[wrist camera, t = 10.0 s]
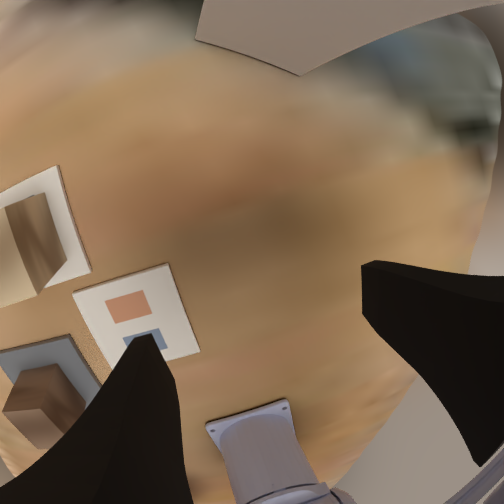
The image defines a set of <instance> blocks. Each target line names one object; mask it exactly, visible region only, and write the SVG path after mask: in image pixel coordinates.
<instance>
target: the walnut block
mask: <svg viewBox="0 0 504 504" xmlns="http://www.w3.org/2000/svg"><path fill="white" fill-rule="evenodd" d="M85 406H86V401H85V400H84V399H83V397H82V396H81V395H80V394H79V392H78V391H77V390H76V388H75V387H74V386H73V384H72V383H71V382H70V380H69V379H68V378H67V376H66V375H65V374H64V372H63V371H62V369H61V368H60V366H59V365H58V363H55V364H51V365H47V366H42V367H38V368H33V369H28V370H24V371H21V372H20V374H19V376H18V378H17V380H16V382H15V384H14V386H13V388H12V390H11V392H10V394H9V397H8V399H7V401H6V403H5V406H4V408H3V410H2V413H3V414H4V415H5V416H6V417H7V418H8V420H9V421H10V422H11V423H12V424H13V425H14V426H15V427H16V428H17V429H18V430H19V431H20V432H21V433H22V434H23V435H24V436H25V437H26V438H27V439H28V440H29V441H30V442H31V443H32V444H33V445H34V446H35V447H36V448H37V449H50V448H51V447H52V446H53V445H54V444H55V443H56V442H57V441H58V440H59V439H60V438H61V437H62V436H63V435H64V434H65V433H66V432H67V431H68V430H69V429H70V428H71V427H72V425H73V424H74V423H75V422H76V421H77V419H78V418H79V417H80V416H81V415H82V413H83V412H84V411H85Z"/></svg>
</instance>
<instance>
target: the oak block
mask: <svg viewBox="0 0 504 504" xmlns="http://www.w3.org/2000/svg"><path fill="white" fill-rule="evenodd" d="M66 261H67V258H66V255H65V252H64V250H63V247H62V244H61V242H60V239H59V236H58V233H57V230H56V227H55V224H54V221H53V218H52V215H51V212H50V208H49V205H48V202H47V198H46V195H45V192H44V193H41V194H38V195H35V196H32V197H29V198H26V199H24V200H21V201H18V202H16V203H13V204H10V205H8V206H5V207H3V208H1V209H0V308H2V307H5V306H8V305H11V304H14V303H16V302H19V301H22V300H25V299H28V298H31V297H34V296H37V295H38V294H39V293H40V292H41V290H42V289H43V288H44V287H45V286H46V284H47V283H48V282H49V281H50V280H51V278H52V277H53V276H54V275H55V274H56V273H57V271H58V270H59V269H60V268H61V267H62V266H63V265H64V263H65V262H66Z"/></svg>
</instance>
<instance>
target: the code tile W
mask: <svg viewBox="0 0 504 504" xmlns="http://www.w3.org/2000/svg"><path fill="white" fill-rule="evenodd" d="M72 296H73V298H74V300H75V302H76V304H77V306H78V308H79V310H80V312H81V314H82V316H83V318H84V320H85V322H86V324H87V326H88V328H89V330H90V332H91V334H92V335H93V337H94V339H95V341H96V343H97V344H98V346H99V348H100V350H101V351H102V353H103V355H104V357H105V358H106V360H107V362H108V363H109V365H110V366H111V368H112V370H113V369H114V367H115V366H116V364H117V362H118V361H119V359H120V358H121V356H122V355H123V353H124V351H125V350H126V348H127V347H128V345H129V344H130V342H131V341H132V340H133V338H134V337H138V336H142V335H146V334H149V333H152V335H153V337H154V339H155V341H156V343H157V346H158V348H159V350H160V352H161V354H162V356H163V358H164V360H165V361H169V360H173V359H176V358H180V357H184V356H187V355H191V354H195V353H198V352H201V351H200V347H199V345H198V342H197V340H196V337H195V335H194V332H193V330H192V327H191V325H190V322H189V320H188V317H187V314H186V312H185V309H184V306H183V304H182V301H181V298H180V295H179V293H178V290H177V287H176V284H175V281H174V278H173V275H172V273H171V270H170V267H169V264H168V263H166V264H163V265H159V266H156V267H153V268H149V269H146V270H143V271H139V272H136V273H133V274H129V275H126V276H123V277H119V278H116V279H113V280H110V281H106V282H103V283H100V284H97V285H93V286H90V287H87V288H84V289H80V290H77V291H74V292H73V293H72Z"/></svg>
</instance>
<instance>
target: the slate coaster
mask: <svg viewBox="0 0 504 504" xmlns="http://www.w3.org/2000/svg"><path fill="white" fill-rule="evenodd" d="M55 363H58V365H59V366H60V368H61V369H62V371H63V372H64V374H65V375H66V376H67V378H68V379H69V380H70V382H71V383H72V384H73V386H74V387H75V388H76V390H77V391H78V392H79V394H80V395H81V396H82V397H83V399H84V400H85V401H86V406H85V409H86V408H87V407H88V405H89V404H90V403H91V401H92V400H93V398H94V397H95V395H96V394H97V393H98V391H99V390H100V388H101V387H102V385H101V384H100V382H99V381H98V379H97V378H96V376H95V375H94V373H93V372H92V370H91V369H90V367H89V365H88V364H87V362H86V361H85V359H84V358H83V356H82V354H81V353H80V351H79V349H78V348H77V346H76V344H75V342H74V341H73V339H72V337H71V335H70V334H69V335H65V336H61V337H57V338H53V339H49V340H44V341H40V342H36V343H32V344H28V345H24V346H19V347H15V348H11V349H6V350H2V351H0V366H1V367H2V369H3V370H4V372H5V373H6V375H7V376H8V377H9V379H10V380H11V382H12V383H13V384H15V382H16V380H17V378H18V376H19V374H20V372H21V371H24V370H28V369H33V368H38V367H42V366H47V365H51V364H55Z"/></svg>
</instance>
